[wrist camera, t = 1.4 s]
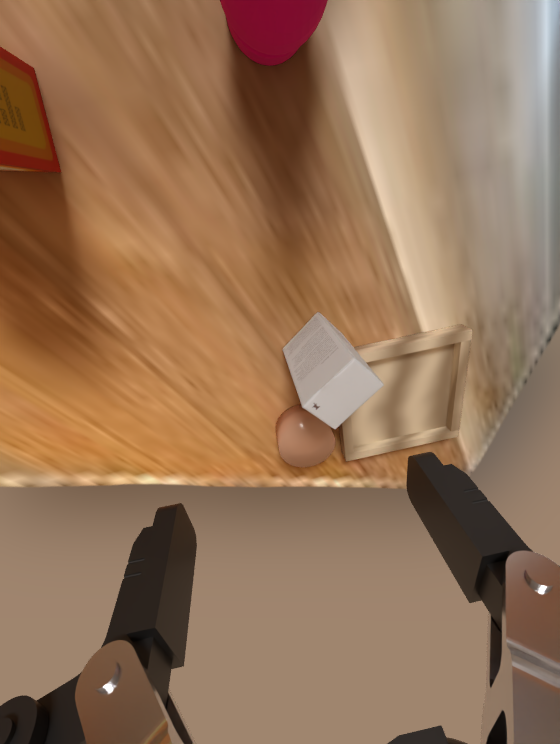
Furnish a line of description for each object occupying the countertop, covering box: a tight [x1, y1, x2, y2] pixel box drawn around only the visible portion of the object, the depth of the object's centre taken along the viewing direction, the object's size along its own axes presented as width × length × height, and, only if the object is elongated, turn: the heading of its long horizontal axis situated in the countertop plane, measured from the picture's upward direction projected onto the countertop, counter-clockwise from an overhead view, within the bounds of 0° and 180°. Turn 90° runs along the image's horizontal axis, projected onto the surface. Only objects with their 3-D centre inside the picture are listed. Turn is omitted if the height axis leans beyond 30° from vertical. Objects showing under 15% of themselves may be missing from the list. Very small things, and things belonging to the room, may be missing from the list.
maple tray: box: [339, 324, 473, 461], centre depth 41 cm, size 16×16×2 cm
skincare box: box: [283, 312, 384, 429], centre depth 32 cm, size 6×4×12 cm
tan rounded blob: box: [276, 405, 335, 467], centre depth 41 cm, size 7×7×4 cm
